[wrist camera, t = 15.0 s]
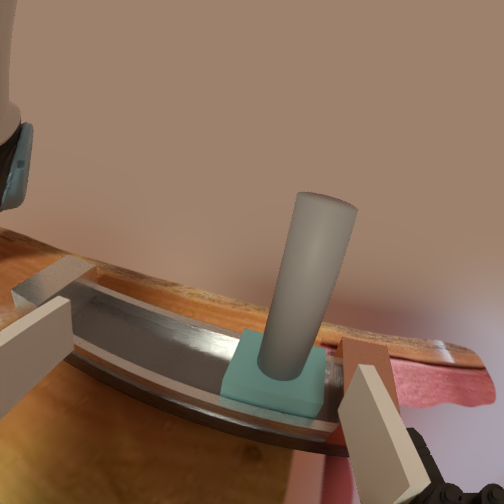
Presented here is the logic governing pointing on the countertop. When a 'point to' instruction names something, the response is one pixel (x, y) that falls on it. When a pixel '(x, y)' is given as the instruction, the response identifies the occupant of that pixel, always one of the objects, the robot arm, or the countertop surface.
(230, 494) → the countertop surface
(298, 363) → the carriage
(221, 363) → the rail track
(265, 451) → the countertop surface
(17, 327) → the robot arm
